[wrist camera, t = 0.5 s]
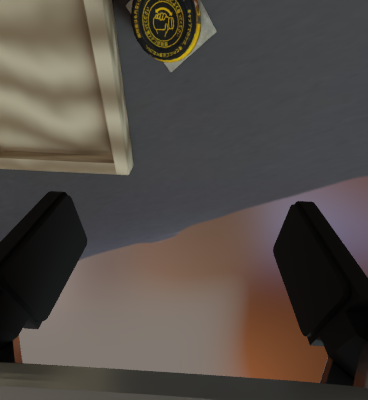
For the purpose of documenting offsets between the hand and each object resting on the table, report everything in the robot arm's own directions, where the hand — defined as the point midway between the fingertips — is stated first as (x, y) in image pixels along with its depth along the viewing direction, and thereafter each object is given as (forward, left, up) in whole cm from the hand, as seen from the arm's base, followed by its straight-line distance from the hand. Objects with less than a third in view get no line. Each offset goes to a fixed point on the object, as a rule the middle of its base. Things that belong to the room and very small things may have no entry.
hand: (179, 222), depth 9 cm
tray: (0, -22, -27) cm, 34 cm away
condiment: (-8, -3, -27) cm, 28 cm away
